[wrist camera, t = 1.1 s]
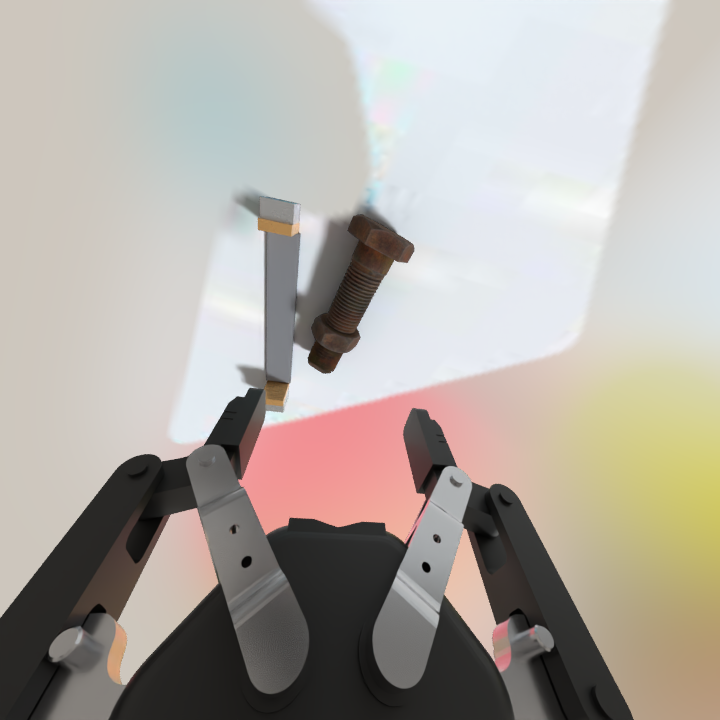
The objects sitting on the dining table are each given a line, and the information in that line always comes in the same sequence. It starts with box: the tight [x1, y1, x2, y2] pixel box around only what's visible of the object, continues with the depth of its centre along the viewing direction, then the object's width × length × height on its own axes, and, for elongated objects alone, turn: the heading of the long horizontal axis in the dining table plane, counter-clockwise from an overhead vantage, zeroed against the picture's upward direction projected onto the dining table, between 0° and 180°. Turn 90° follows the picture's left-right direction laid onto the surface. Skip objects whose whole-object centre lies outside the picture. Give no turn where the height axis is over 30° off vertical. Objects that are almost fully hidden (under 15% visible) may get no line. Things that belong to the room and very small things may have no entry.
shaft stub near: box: [258, 196, 300, 237], centre depth 20 cm, size 2×2×4 cm
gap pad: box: [266, 232, 300, 383], centre depth 27 cm, size 17×3×1 cm, turn 169°
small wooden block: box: [264, 380, 289, 412], centre depth 30 cm, size 2×2×4 cm
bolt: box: [308, 214, 414, 374], centre depth 24 cm, size 6×5×15 cm
